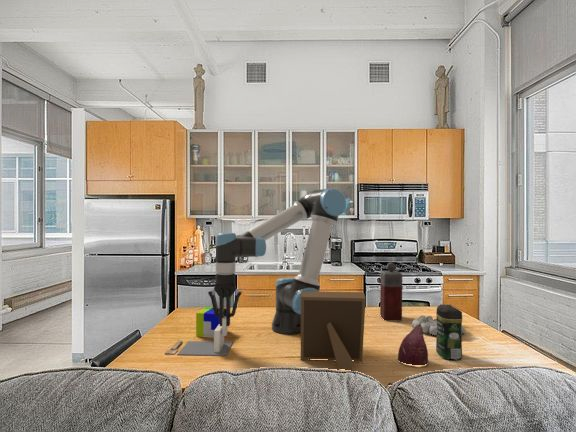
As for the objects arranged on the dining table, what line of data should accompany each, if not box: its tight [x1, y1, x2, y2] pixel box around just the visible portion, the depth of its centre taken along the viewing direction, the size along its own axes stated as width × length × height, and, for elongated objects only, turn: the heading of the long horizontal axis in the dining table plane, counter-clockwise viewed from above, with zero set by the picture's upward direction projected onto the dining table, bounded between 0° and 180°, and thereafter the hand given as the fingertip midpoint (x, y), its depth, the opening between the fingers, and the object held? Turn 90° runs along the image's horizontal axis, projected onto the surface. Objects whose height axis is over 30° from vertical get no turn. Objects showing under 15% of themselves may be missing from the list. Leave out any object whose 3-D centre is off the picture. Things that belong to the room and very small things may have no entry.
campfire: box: [411, 315, 467, 336], centre depth 166 cm, size 22×21×6 cm
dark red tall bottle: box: [379, 262, 403, 321], centre depth 187 cm, size 9×11×28 cm
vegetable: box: [397, 324, 429, 365], centre depth 132 cm, size 10×10×15 cm
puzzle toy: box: [195, 306, 226, 339], centre depth 161 cm, size 10×10×10 cm
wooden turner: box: [164, 340, 183, 356], centre depth 143 cm, size 4×12×1 cm, turn 178°
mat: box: [176, 340, 234, 357], centre depth 143 cm, size 18×14×1 cm
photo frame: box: [300, 291, 367, 370], centre depth 128 cm, size 15×22×25 cm
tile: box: [213, 324, 225, 352], centre depth 142 cm, size 2×9×8 cm, turn 179°
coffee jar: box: [435, 304, 463, 360], centre depth 137 cm, size 10×8×19 cm
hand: (224, 334), depth 142 cm, fingers closed
